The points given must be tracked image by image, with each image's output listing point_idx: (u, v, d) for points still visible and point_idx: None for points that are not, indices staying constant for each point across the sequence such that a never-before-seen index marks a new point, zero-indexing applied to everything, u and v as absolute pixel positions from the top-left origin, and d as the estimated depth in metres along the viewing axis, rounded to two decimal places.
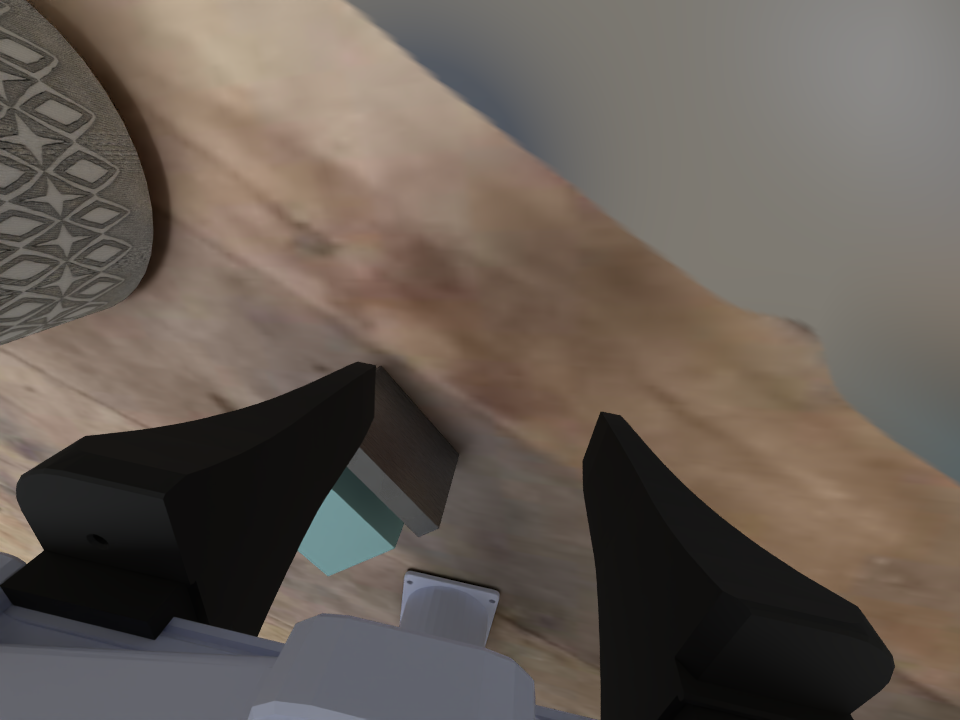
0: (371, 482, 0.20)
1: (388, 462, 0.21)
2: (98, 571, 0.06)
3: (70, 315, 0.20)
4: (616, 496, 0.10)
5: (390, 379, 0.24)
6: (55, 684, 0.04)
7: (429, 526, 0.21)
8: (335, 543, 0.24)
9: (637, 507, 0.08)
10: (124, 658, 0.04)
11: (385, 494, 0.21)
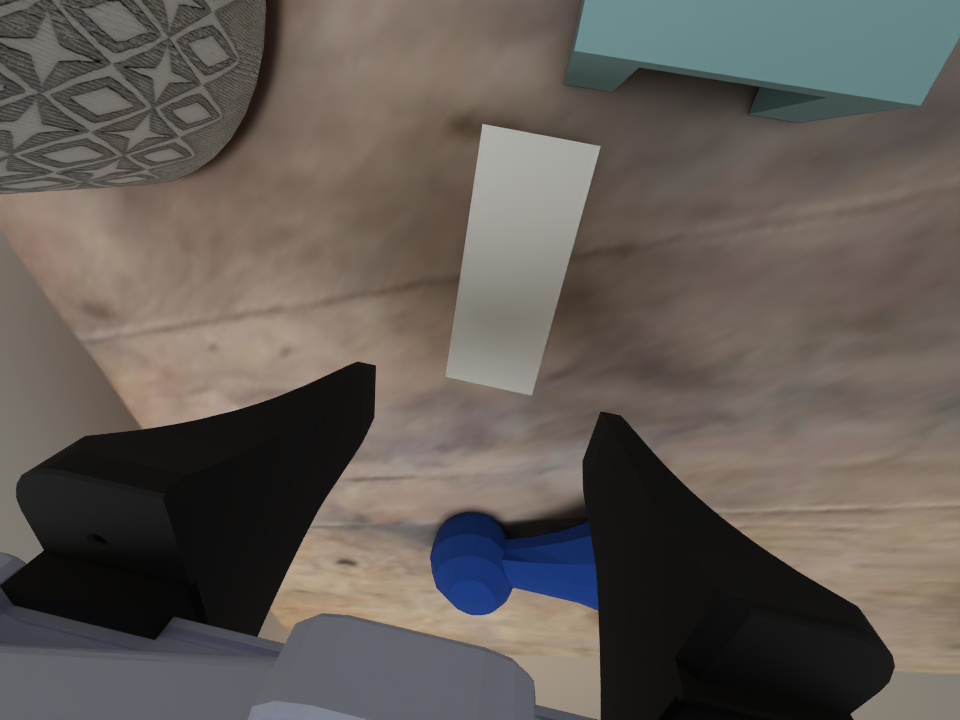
0: None
1: None
2: (98, 571, 0.06)
3: None
4: (616, 497, 0.10)
5: None
6: (55, 684, 0.04)
7: None
8: None
9: (637, 507, 0.08)
10: (124, 658, 0.04)
11: None
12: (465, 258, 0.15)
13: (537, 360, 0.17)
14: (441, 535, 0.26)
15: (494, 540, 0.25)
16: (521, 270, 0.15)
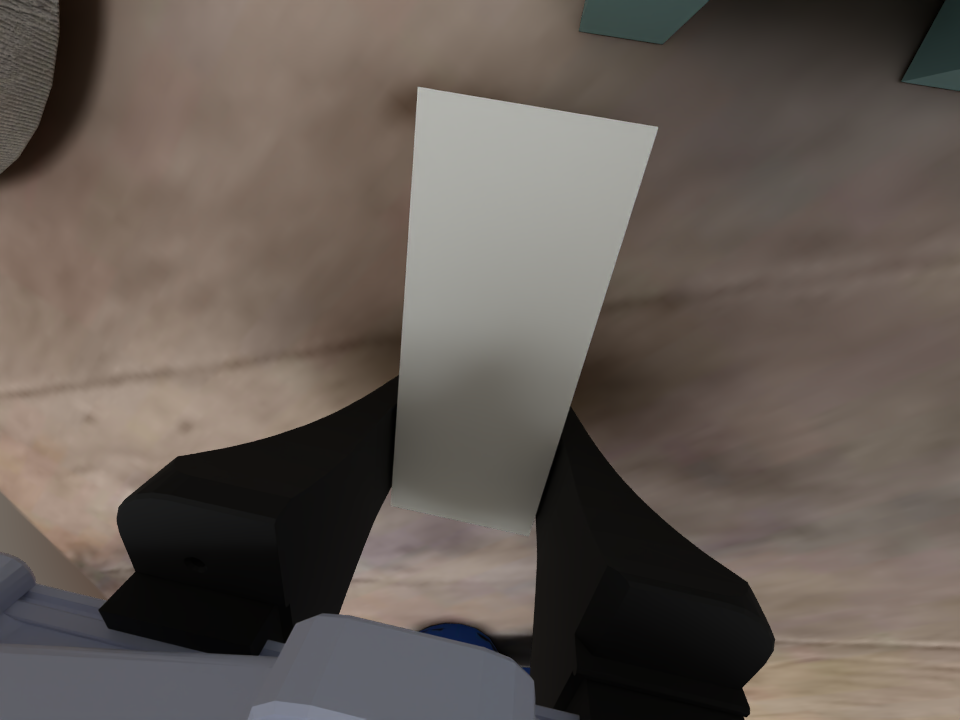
0: None
1: None
2: (192, 594, 0.06)
3: None
4: (554, 483, 0.10)
5: None
6: (55, 684, 0.04)
7: None
8: None
9: (566, 492, 0.08)
10: (124, 658, 0.04)
11: None
12: (406, 334, 0.09)
13: (536, 489, 0.10)
14: None
15: None
16: (506, 354, 0.09)
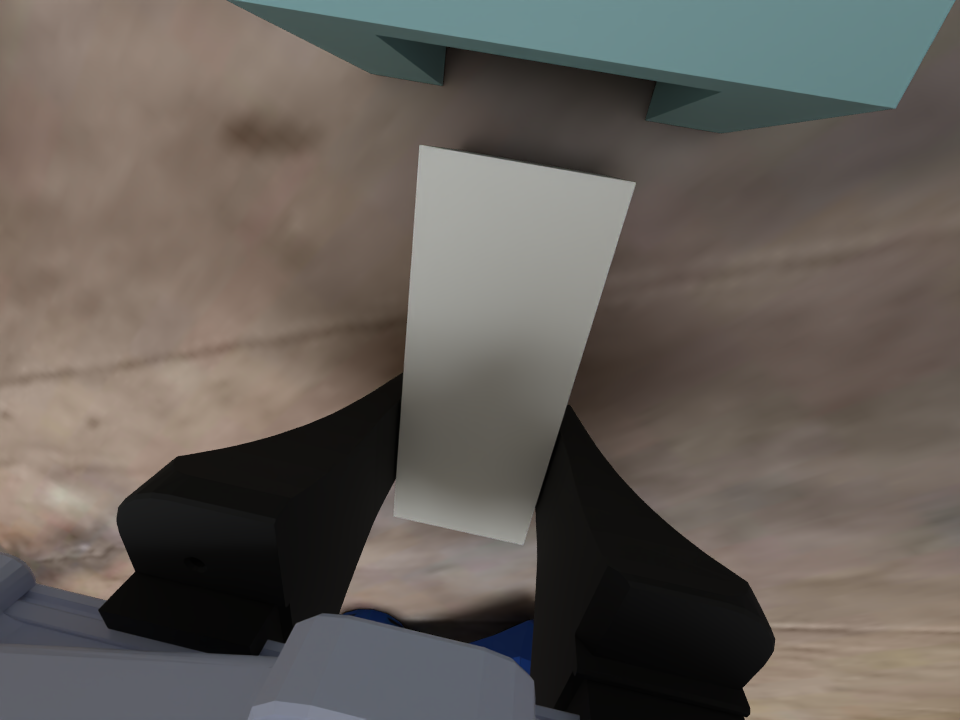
0: None
1: None
2: (192, 593, 0.06)
3: None
4: (554, 483, 0.10)
5: None
6: (55, 684, 0.04)
7: None
8: None
9: (566, 492, 0.08)
10: (124, 658, 0.04)
11: None
12: (408, 360, 0.09)
13: (530, 502, 0.11)
14: None
15: None
16: (500, 379, 0.09)
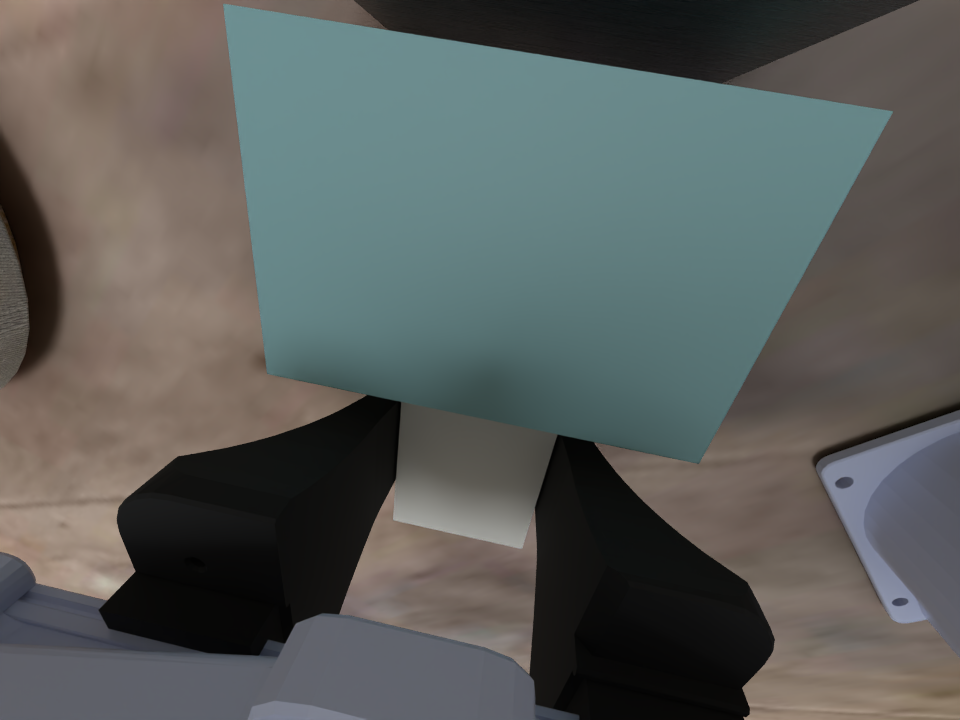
0: None
1: None
2: (192, 594, 0.06)
3: None
4: (554, 483, 0.10)
5: None
6: (55, 684, 0.04)
7: None
8: (646, 311, 0.07)
9: (566, 492, 0.08)
10: (124, 658, 0.04)
11: None
12: None
13: (528, 506, 0.11)
14: None
15: None
16: None
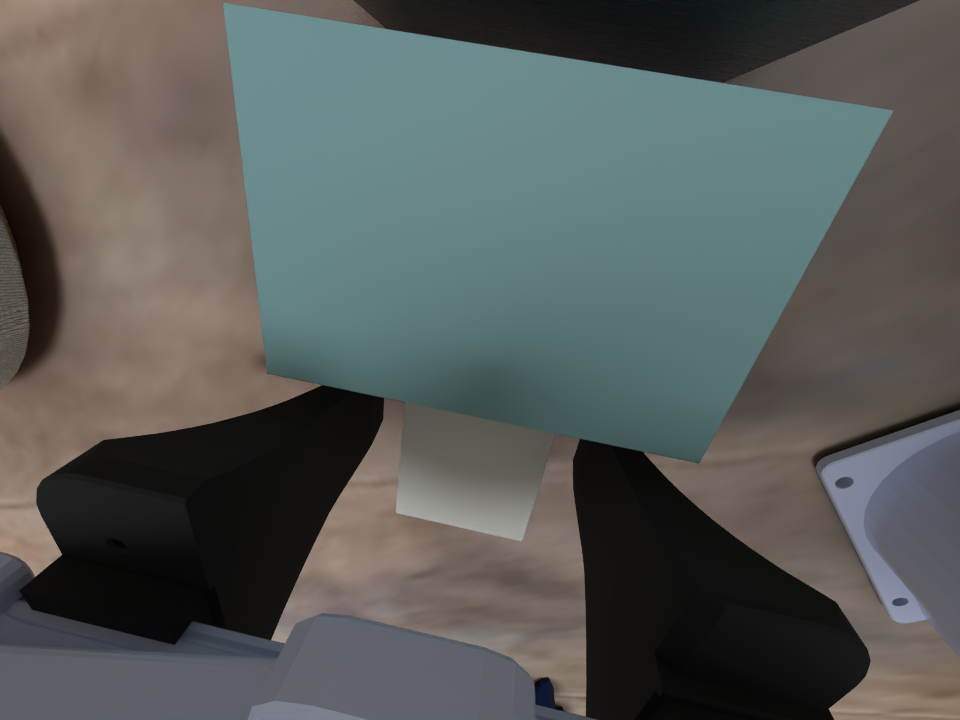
0: None
1: None
2: (117, 575, 0.06)
3: None
4: (604, 494, 0.10)
5: None
6: (55, 684, 0.04)
7: None
8: (646, 310, 0.07)
9: (623, 504, 0.08)
10: (124, 658, 0.04)
11: None
12: None
13: (529, 499, 0.11)
14: None
15: None
16: None
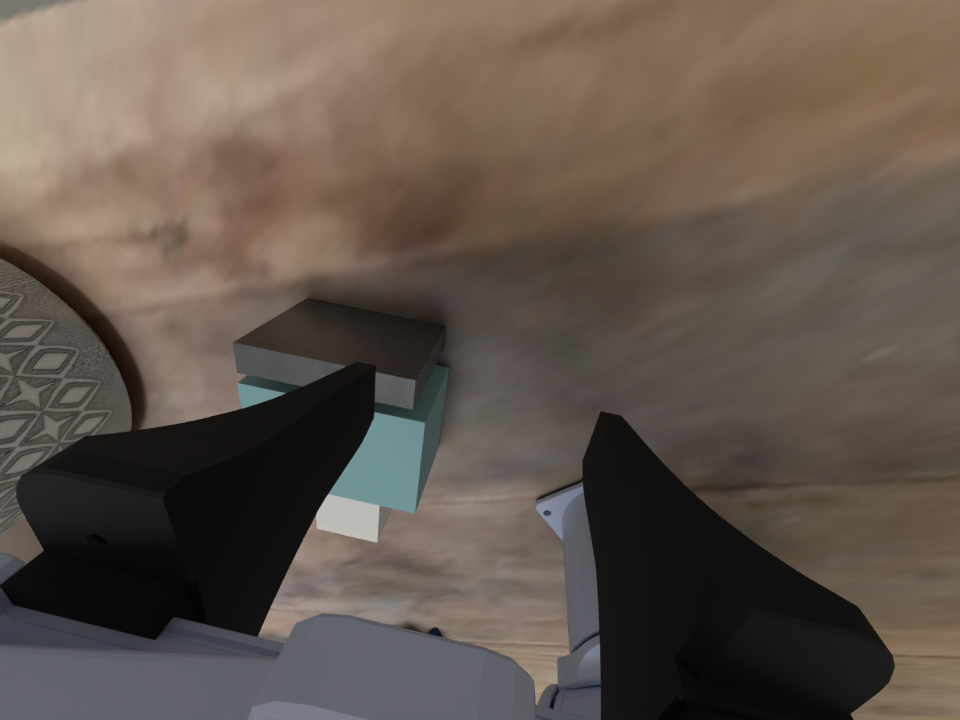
0: None
1: (319, 351, 0.17)
2: (98, 571, 0.06)
3: (79, 430, 0.23)
4: (616, 497, 0.10)
5: (322, 303, 0.22)
6: (55, 684, 0.04)
7: (406, 386, 0.17)
8: (379, 465, 0.19)
9: (637, 507, 0.08)
10: (124, 658, 0.04)
11: None
12: None
13: (375, 523, 0.24)
14: None
15: None
16: None
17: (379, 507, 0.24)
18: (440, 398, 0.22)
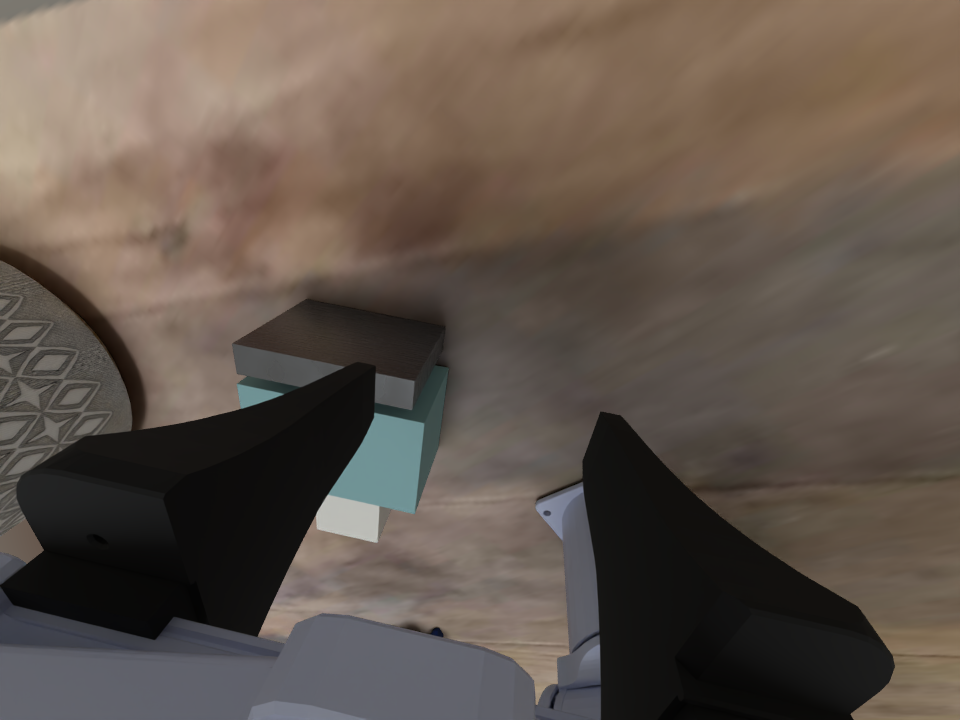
0: None
1: (318, 352, 0.17)
2: (98, 571, 0.06)
3: (79, 431, 0.23)
4: (616, 496, 0.10)
5: (321, 303, 0.22)
6: (55, 684, 0.04)
7: (405, 387, 0.17)
8: (379, 465, 0.19)
9: (637, 507, 0.08)
10: (124, 658, 0.04)
11: None
12: None
13: (375, 523, 0.24)
14: None
15: None
16: None
17: (379, 507, 0.24)
18: (439, 398, 0.22)
